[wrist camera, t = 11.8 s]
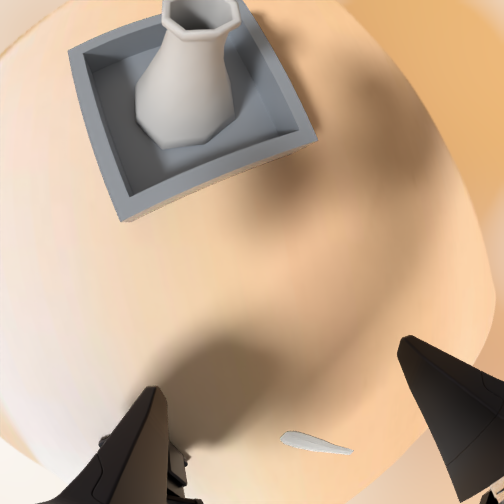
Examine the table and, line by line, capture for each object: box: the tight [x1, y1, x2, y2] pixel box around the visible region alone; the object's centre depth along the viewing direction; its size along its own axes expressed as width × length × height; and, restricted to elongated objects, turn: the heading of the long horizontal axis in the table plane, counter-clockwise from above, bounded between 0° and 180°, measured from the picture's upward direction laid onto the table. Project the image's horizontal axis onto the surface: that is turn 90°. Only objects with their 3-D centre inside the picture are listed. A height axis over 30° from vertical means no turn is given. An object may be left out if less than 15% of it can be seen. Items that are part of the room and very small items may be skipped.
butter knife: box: [280, 431, 354, 455], centre depth 27 cm, size 1×27×3 cm
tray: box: [68, 0, 318, 222], centre depth 16 cm, size 13×13×4 cm
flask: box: [135, 0, 242, 150], centre depth 12 cm, size 7×7×10 cm
